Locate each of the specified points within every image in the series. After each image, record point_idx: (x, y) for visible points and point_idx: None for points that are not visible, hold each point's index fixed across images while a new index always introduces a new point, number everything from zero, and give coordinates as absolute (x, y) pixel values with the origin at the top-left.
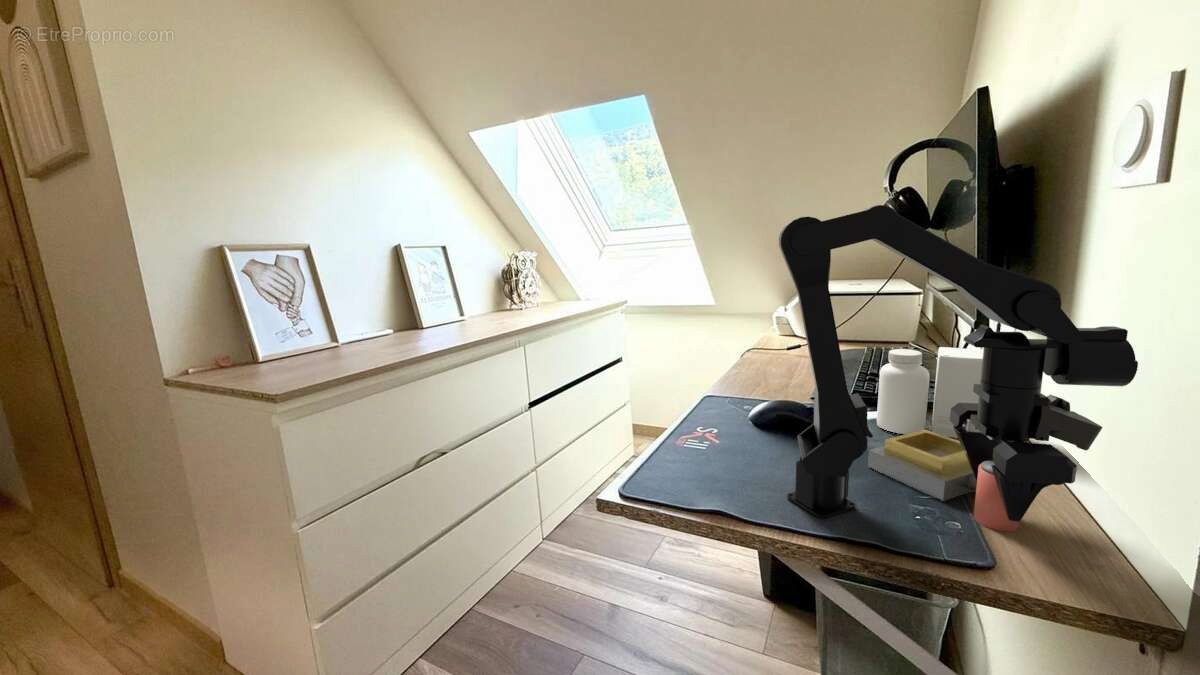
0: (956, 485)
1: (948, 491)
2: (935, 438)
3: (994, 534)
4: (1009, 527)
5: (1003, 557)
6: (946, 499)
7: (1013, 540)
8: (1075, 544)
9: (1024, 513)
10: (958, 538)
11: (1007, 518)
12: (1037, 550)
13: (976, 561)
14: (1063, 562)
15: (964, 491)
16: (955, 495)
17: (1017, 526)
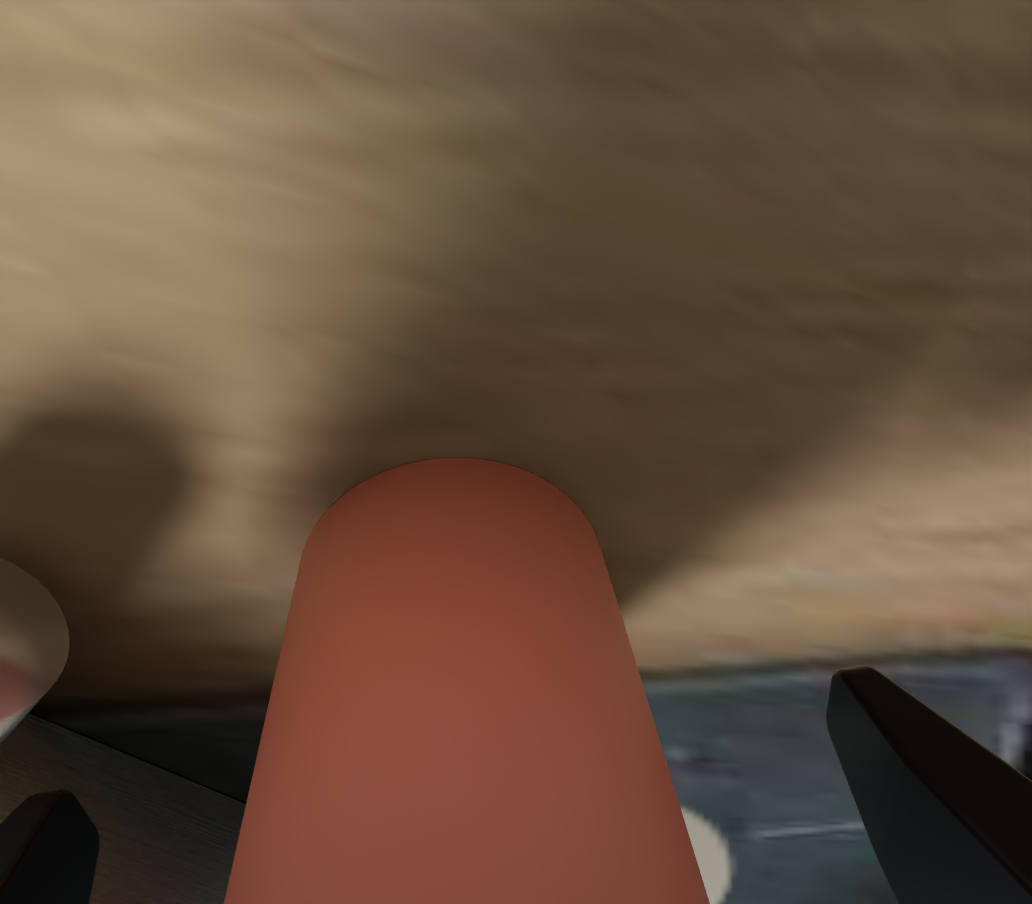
0: (103, 869)
1: (211, 870)
2: None
3: (669, 615)
4: (601, 555)
5: (960, 610)
6: (241, 812)
7: (727, 527)
8: (677, 61)
9: (970, 738)
10: (772, 769)
11: (627, 635)
12: (847, 413)
13: (1009, 720)
14: (1005, 283)
15: (20, 740)
16: (136, 777)
17: (546, 495)
